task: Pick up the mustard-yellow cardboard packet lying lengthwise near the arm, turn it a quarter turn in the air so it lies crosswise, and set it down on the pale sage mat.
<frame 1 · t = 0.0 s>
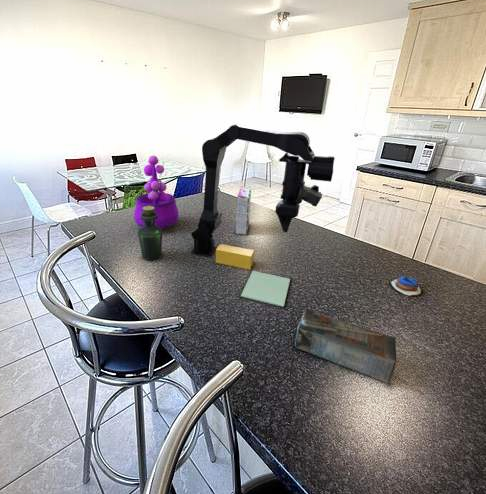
hand: (287, 226, 92), 15 cm above the kitchen island, tool pointing down, fingers open, 9 cm apart
beverage carton: (340, 353, 65), on the kitchen island
potion bottle: (152, 256, 102), on the kitchen island
candy bar box: (242, 229, 125), on the kitchen island
decorative plant: (157, 225, 127), on the kitchen island
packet: (234, 262, 99), on the kitchen island
mat: (266, 287, 86), on the kitchen island
dessert: (405, 288, 88), on the kitchen island
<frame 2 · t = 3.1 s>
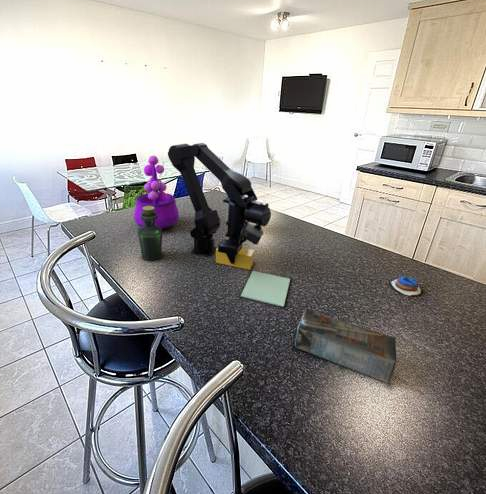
hand: (234, 260, 99), 1 cm above the kitchen island, tool pointing down, fingers closed on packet, 4 cm apart
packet: (234, 262, 99), on the kitchen island, touching gripper
everything else where it was.
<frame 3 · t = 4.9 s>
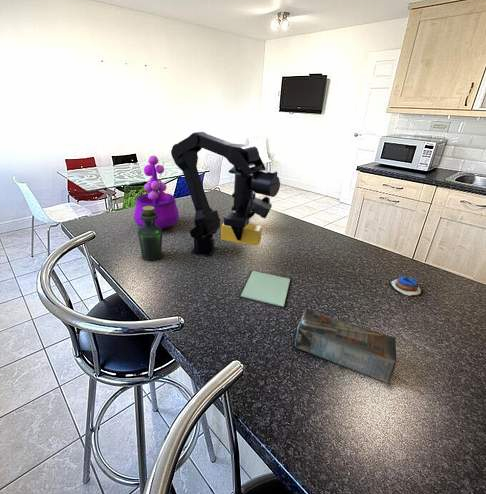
hand: (240, 237, 93), 11 cm above the kitchen island, tool pointing down, fingers closed on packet, 4 cm apart
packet: (240, 239, 93), point 10 cm above the kitchen island, touching gripper
everything else where it was.
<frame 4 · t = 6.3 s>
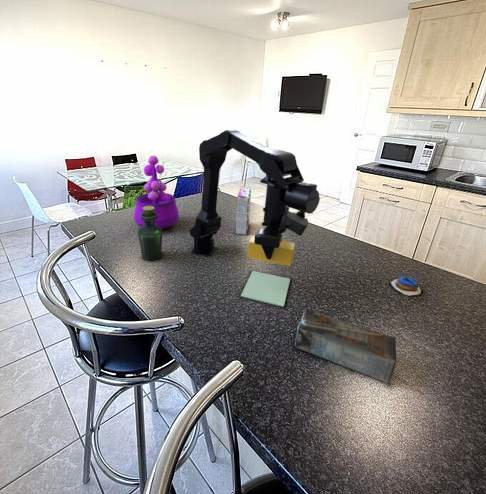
hand: (270, 255, 82), 11 cm above the kitchen island, tool pointing down, fingers closed on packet, 4 cm apart
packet: (270, 258, 82), point 10 cm above the kitchen island, touching gripper
everything else where it was.
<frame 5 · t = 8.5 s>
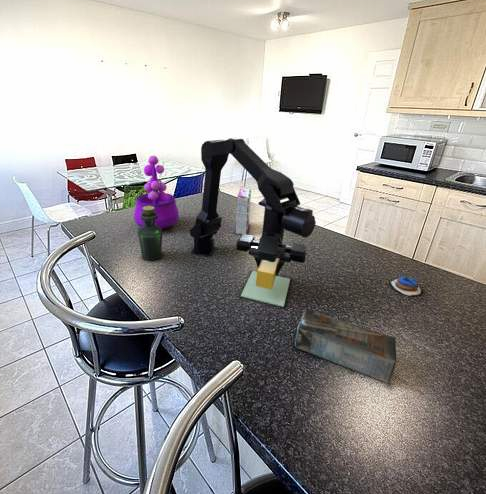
hand: (268, 273, 84), 5 cm above the kitchen island, tool pointing down, fingers closed on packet, 4 cm apart
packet: (267, 276, 85), point 4 cm above the kitchen island, touching gripper
everything else where it was.
when the fingers open (1 cm above the kitchen island, at t = 9.8 s): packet stays where it is, resting on mat.
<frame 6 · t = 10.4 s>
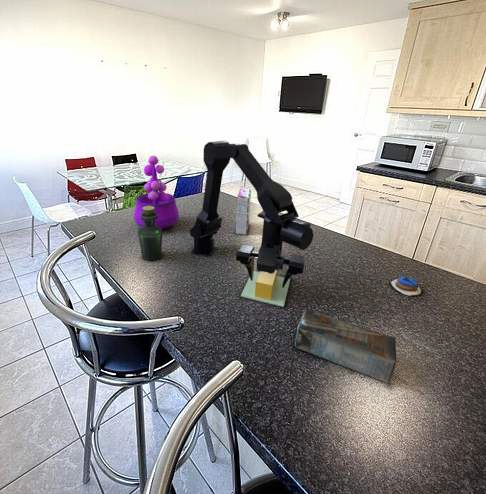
hand: (267, 283, 86), 2 cm above the kitchen island, tool pointing down, fingers open, 9 cm apart
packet: (266, 286, 86), resting on mat
everything else where it was.
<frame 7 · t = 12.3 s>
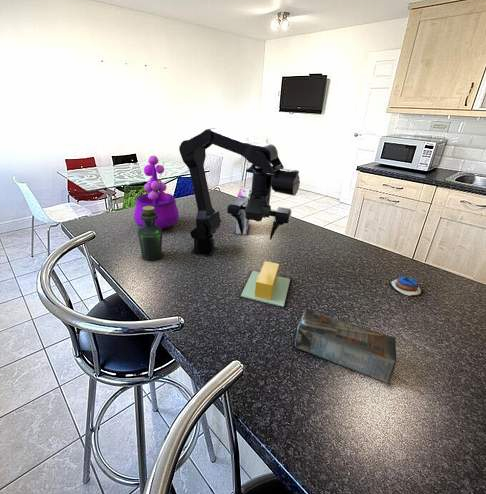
hand: (256, 236, 92), 11 cm above the kitchen island, tool pointing down, fingers open, 9 cm apart
nothing on the kitchen island moved.
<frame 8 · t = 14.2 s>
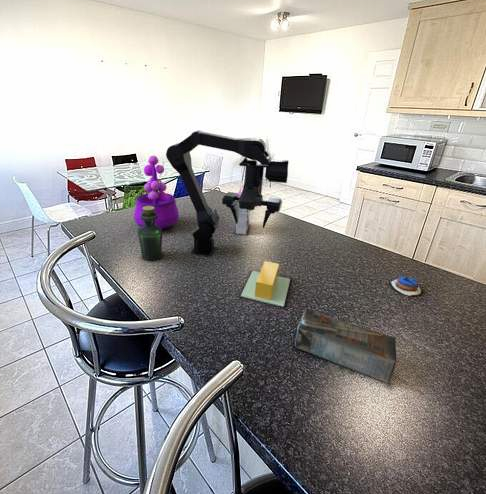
hand: (249, 225, 98), 12 cm above the kitchen island, tool pointing down, fingers open, 9 cm apart
nothing on the kitchen island moved.
at the end: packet inside the target area on the mat (0.0 cm from its centre), point 0.4 cm above the mat's base; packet tilted 0°; the gripper is holding nothing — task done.
